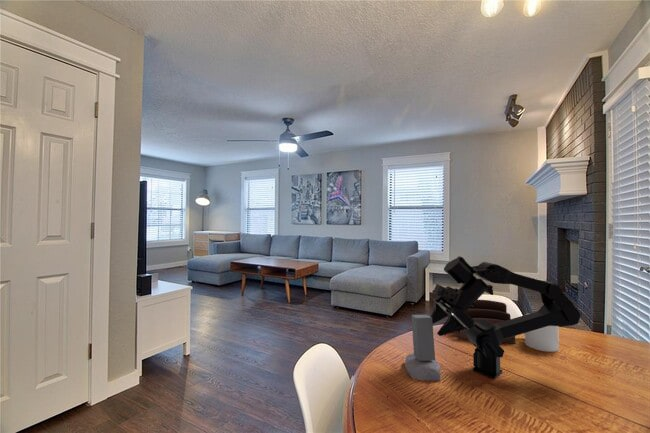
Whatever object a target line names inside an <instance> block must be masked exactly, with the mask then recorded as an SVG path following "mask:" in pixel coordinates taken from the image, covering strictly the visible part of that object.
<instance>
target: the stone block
mask: <svg viewBox="0 0 650 433" xmlns="http://www.w3.org/2000/svg"><path fill="white" fill-rule="evenodd" d="M404 363H405V364H404V366H405V371H406V374H408V376H409V378H411V379H412V380H418V381H433V382H434V381H437V382H441V378H442V377H441V375H442V373H441V366H440V364H439V362H438V361H437V360H436V358H435V360H428V361H419V360H418V359H417V358H416V357H415V356H414V353H409V354H407V355H405V362H404Z"/></svg>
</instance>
